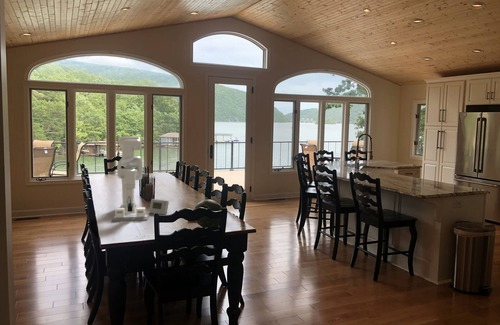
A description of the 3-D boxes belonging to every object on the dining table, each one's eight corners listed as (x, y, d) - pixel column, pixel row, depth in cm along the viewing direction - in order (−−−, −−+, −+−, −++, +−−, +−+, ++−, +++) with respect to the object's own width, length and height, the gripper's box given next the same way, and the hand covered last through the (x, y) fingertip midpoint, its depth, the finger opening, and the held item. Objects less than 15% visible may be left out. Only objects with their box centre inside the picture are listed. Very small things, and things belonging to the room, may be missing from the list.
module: (127, 212, 301) (126, 201, 300) (135, 211, 302) (135, 201, 301) (125, 213, 296) (125, 203, 295) (134, 213, 297) (134, 202, 296)
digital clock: (147, 212, 318) (147, 199, 317) (156, 210, 326) (156, 197, 324) (162, 216, 309) (162, 202, 308) (170, 213, 317) (170, 200, 315)
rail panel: (115, 216, 304) (114, 206, 304) (148, 216, 308) (148, 206, 307) (111, 221, 292) (111, 210, 291) (146, 220, 295) (146, 210, 294)
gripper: (126, 184, 305) (127, 208, 307) (122, 188, 288) (123, 213, 290) (136, 184, 306) (137, 207, 308) (133, 188, 289) (134, 213, 291)
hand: (130, 210), depth 299 cm, fingers closed on module, 5 cm apart
